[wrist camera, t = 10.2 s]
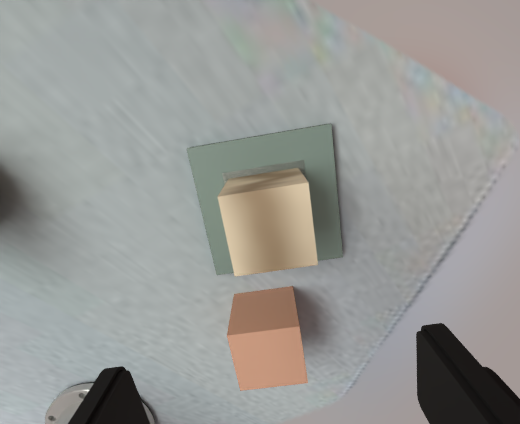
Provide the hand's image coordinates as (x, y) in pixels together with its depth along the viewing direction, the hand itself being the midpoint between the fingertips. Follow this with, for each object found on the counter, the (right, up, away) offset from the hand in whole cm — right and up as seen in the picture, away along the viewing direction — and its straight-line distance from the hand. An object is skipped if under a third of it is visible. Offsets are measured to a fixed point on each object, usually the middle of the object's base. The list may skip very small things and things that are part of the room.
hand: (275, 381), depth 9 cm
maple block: (0, +6, +16) cm, 17 cm away
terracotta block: (0, -5, +21) cm, 21 cm away
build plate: (0, +6, +17) cm, 18 cm away
